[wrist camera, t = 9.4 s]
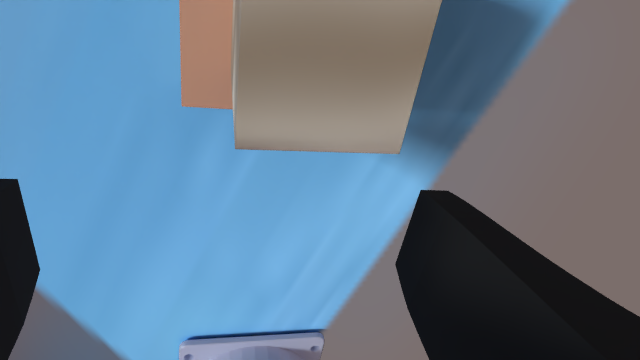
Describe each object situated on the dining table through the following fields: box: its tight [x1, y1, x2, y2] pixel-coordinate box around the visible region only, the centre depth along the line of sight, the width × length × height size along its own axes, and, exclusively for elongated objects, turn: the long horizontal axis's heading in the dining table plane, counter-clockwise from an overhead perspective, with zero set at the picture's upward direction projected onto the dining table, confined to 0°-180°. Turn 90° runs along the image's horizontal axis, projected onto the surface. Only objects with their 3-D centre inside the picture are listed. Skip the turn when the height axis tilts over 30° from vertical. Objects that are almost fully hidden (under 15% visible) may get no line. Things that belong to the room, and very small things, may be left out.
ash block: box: [231, 0, 442, 154], centre depth 12 cm, size 4×4×5 cm
